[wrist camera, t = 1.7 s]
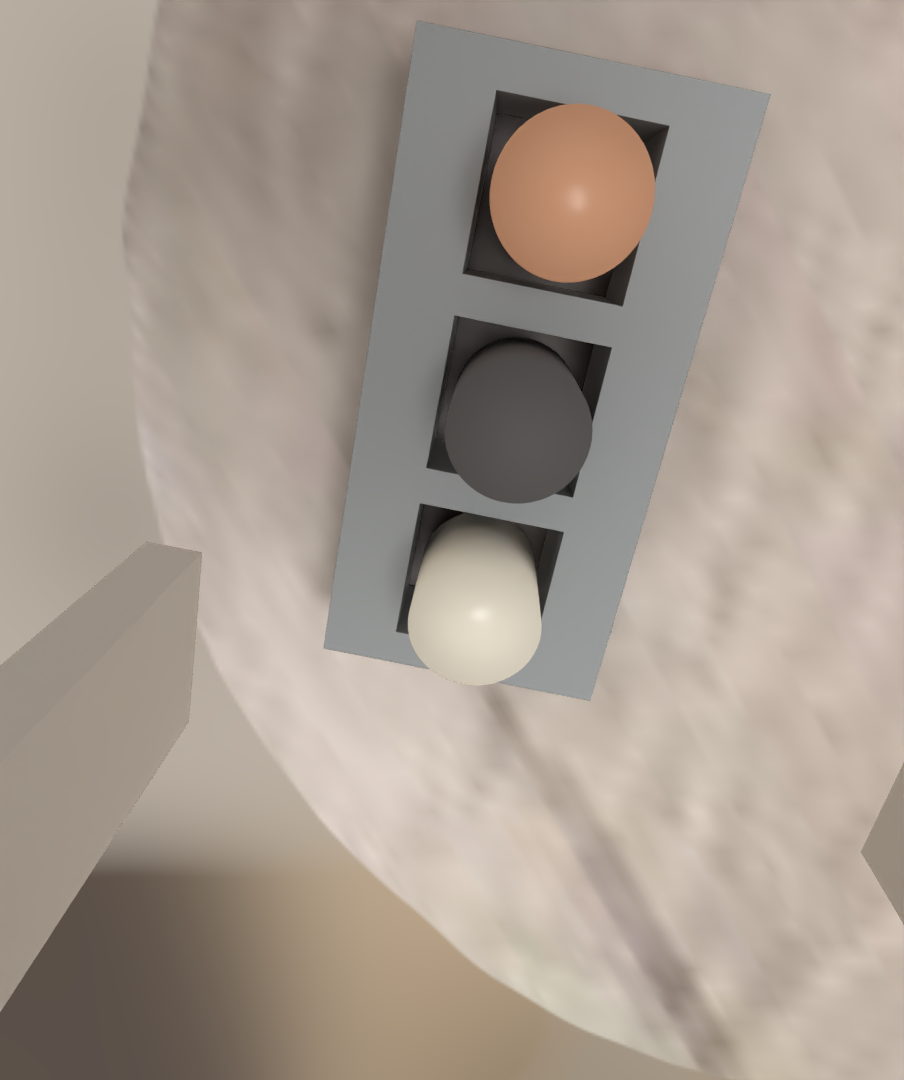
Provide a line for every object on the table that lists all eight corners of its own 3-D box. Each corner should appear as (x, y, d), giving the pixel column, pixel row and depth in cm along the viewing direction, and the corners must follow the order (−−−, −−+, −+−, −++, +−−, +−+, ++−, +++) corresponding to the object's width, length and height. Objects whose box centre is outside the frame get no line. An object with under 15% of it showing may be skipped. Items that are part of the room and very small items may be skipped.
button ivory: (433, 501, 34) (420, 553, 28) (546, 524, 34) (555, 580, 28) (414, 604, 36) (397, 671, 30) (521, 625, 36) (525, 696, 30)
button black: (467, 326, 31) (459, 344, 26) (590, 351, 31) (609, 374, 26) (444, 446, 33) (432, 488, 27) (560, 469, 33) (572, 516, 28)
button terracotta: (507, 117, 29) (509, 87, 23) (641, 145, 29) (675, 122, 23) (479, 260, 30) (474, 265, 25) (606, 286, 30) (629, 296, 25)
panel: (429, 53, 31) (416, 20, 26) (729, 116, 31) (770, 94, 26) (344, 600, 39) (323, 648, 35) (579, 646, 39) (590, 700, 35)
